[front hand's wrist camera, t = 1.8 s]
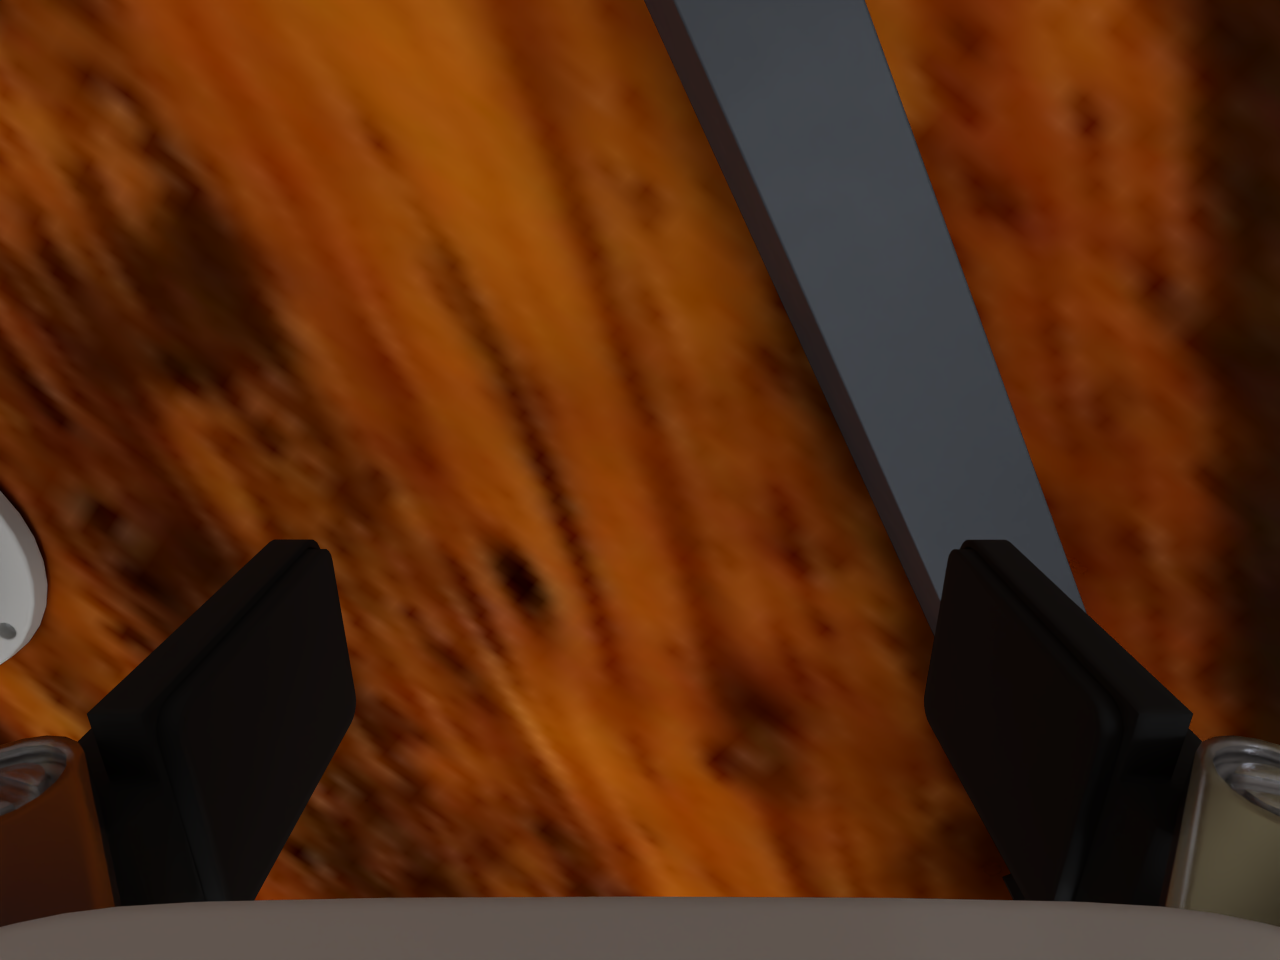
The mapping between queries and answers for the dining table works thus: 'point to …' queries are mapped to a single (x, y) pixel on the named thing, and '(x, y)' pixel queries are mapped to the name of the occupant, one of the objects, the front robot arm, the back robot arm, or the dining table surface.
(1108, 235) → the dining table surface
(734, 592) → the dining table surface
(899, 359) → the post
